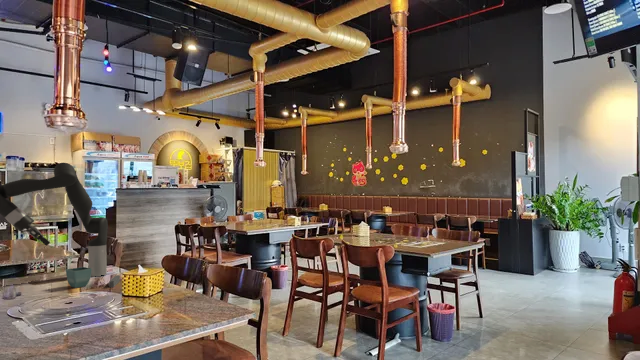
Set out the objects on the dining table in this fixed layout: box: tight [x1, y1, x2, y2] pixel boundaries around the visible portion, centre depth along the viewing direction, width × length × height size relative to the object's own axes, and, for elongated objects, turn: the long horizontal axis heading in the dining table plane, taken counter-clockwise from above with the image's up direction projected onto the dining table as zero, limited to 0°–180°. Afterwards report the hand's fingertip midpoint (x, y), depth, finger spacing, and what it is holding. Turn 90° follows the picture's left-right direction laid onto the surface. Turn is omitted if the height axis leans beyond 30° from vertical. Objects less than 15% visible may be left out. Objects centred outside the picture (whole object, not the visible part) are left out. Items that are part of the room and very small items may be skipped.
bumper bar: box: [108, 274, 121, 288], centre depth 212 cm, size 2×16×3 cm, turn 16°
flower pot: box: [65, 266, 92, 289], centre depth 208 cm, size 9×9×9 cm
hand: (48, 244), depth 204 cm, fingers closed
